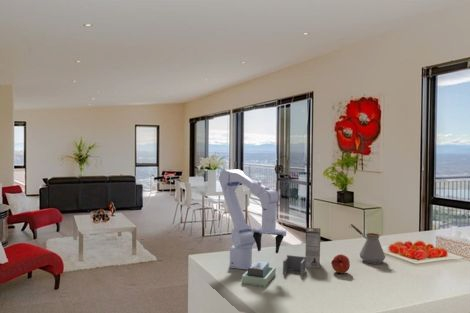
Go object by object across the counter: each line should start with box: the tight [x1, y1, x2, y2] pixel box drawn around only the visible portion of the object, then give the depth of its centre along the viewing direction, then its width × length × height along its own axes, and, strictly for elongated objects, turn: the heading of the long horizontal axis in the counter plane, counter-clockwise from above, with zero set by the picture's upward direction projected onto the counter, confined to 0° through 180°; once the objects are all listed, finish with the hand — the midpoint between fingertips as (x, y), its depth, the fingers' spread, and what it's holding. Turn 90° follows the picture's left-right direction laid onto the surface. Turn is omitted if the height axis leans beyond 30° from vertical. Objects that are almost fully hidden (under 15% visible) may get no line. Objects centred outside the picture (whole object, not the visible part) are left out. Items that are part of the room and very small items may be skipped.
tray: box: [241, 266, 277, 287], centre depth 166 cm, size 10×16×3 cm, turn 161°
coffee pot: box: [348, 224, 386, 265], centre depth 198 cm, size 21×12×15 cm, turn 25°
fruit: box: [330, 254, 351, 274], centre depth 175 cm, size 8×8×8 cm
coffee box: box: [304, 227, 321, 269], centre depth 186 cm, size 9×6×16 cm
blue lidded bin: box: [247, 260, 270, 278], centre depth 165 cm, size 6×11×6 cm, turn 160°
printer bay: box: [282, 254, 307, 277], centre depth 175 cm, size 8×8×6 cm
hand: (268, 251), depth 170 cm, fingers open, 7 cm apart
